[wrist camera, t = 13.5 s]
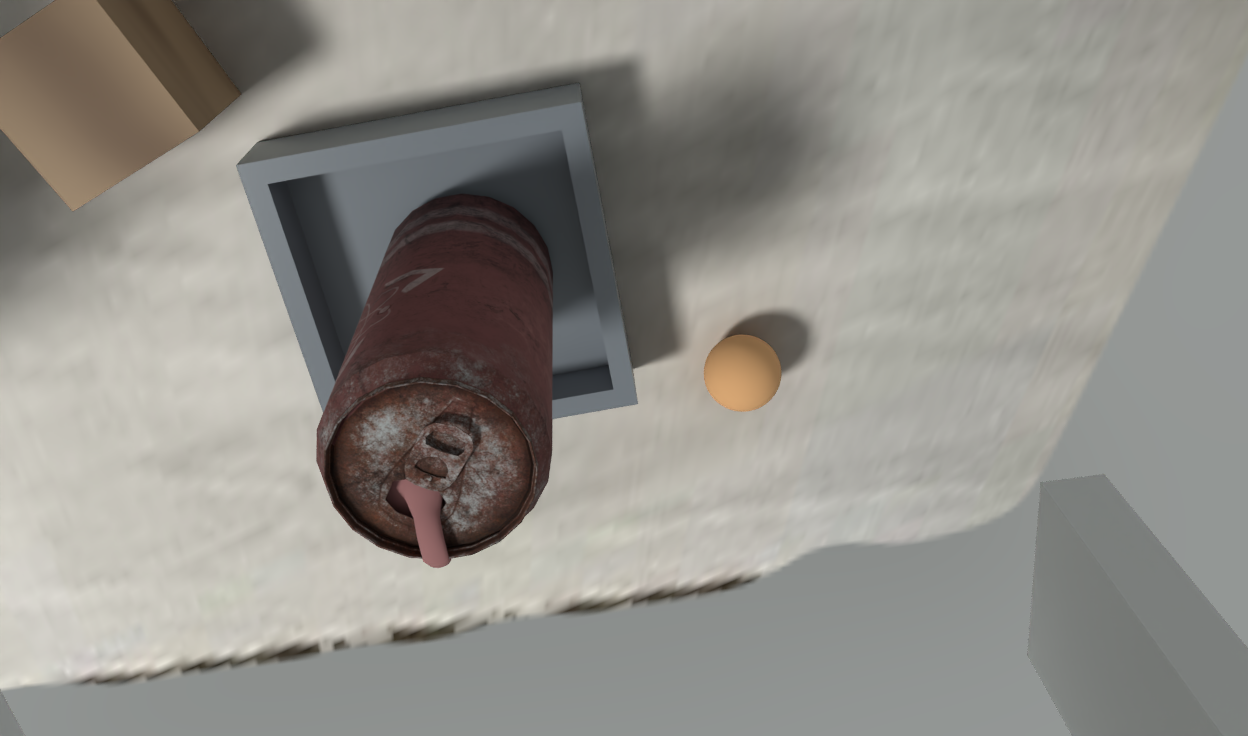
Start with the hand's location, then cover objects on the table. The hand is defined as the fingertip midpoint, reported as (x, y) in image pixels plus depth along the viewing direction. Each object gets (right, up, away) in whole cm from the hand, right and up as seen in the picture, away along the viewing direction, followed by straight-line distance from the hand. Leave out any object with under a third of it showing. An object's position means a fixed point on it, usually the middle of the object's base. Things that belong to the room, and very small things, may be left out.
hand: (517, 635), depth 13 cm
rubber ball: (+6, +3, +28) cm, 29 cm away
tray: (-5, +7, +27) cm, 28 cm away
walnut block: (-15, +14, +23) cm, 31 cm away
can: (-4, +7, +26) cm, 27 cm away
